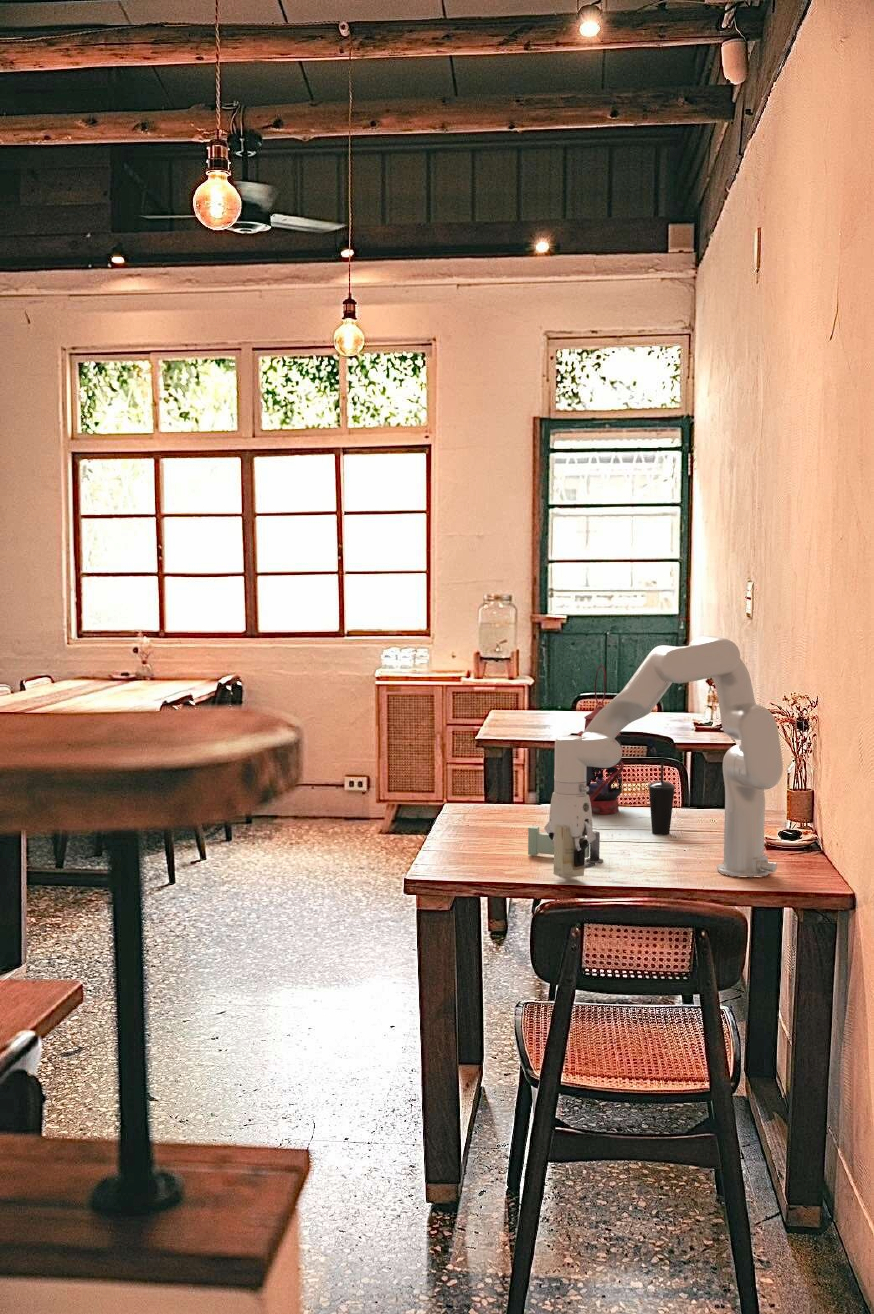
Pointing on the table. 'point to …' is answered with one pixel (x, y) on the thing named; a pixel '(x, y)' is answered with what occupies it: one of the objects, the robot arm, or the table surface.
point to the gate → (542, 843)
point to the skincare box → (565, 854)
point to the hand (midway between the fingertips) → (569, 862)
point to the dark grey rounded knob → (595, 850)
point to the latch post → (589, 865)
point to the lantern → (601, 791)
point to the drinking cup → (661, 805)
